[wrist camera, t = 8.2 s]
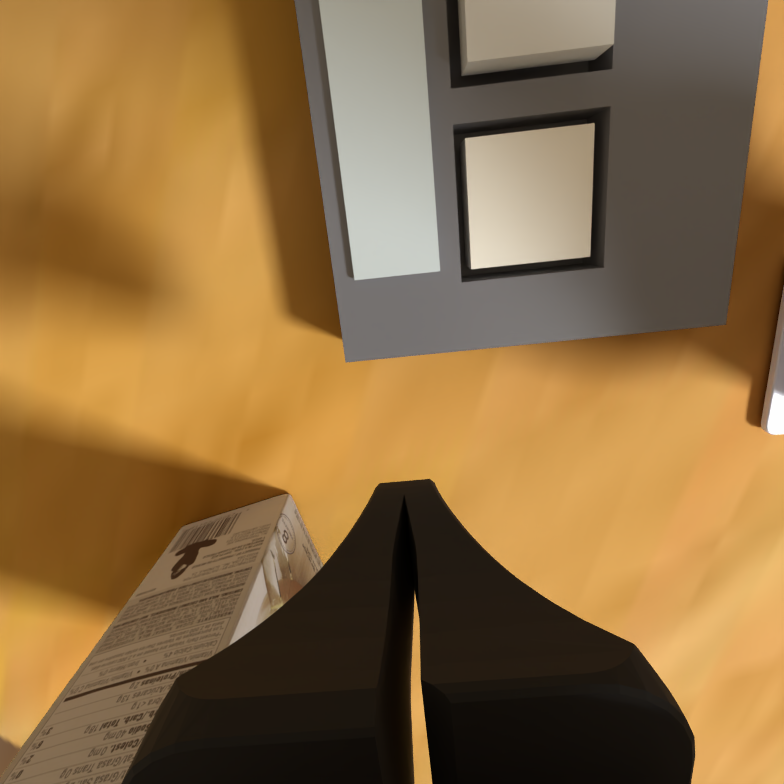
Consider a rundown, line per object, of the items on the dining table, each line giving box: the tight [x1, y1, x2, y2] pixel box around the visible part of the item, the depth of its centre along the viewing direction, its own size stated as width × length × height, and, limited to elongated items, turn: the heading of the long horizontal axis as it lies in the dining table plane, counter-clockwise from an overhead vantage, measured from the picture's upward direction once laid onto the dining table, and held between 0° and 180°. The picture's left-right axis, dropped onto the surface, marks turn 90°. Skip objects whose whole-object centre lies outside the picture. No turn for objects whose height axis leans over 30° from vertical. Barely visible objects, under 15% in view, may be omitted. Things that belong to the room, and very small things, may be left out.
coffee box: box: [0, 494, 323, 784], centre depth 17 cm, size 9×6×16 cm
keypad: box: [294, 0, 768, 362], centre depth 15 cm, size 14×22×3 cm, turn 6°
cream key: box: [460, 123, 595, 269], centre depth 17 cm, size 4×4×1 cm
